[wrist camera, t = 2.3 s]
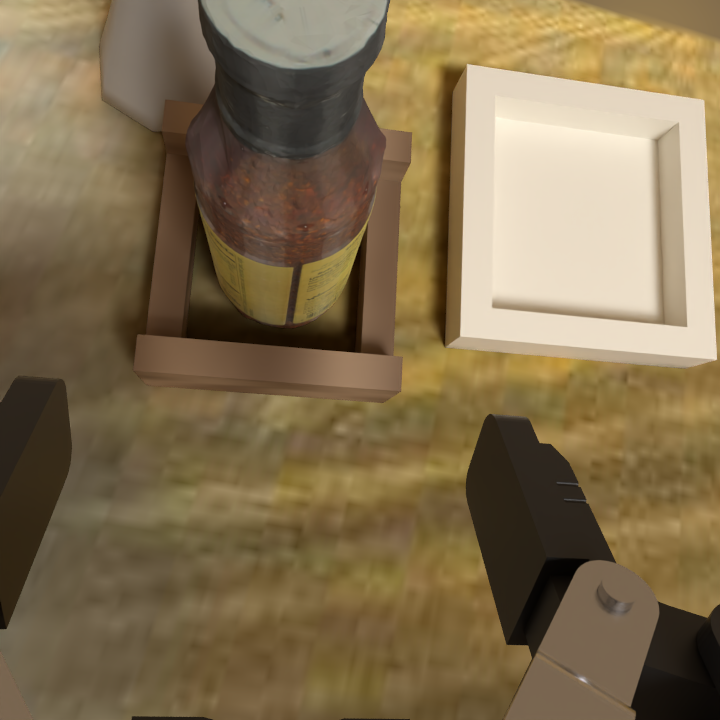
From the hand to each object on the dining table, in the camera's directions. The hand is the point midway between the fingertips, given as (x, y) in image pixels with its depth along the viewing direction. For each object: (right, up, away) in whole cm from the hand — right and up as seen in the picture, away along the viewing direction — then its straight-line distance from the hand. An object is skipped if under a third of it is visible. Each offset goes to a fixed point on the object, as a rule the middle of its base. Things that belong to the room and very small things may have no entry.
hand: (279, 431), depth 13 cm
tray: (+13, +8, +23) cm, 27 cm away
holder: (-2, +6, +20) cm, 21 cm away
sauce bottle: (-2, +6, +20) cm, 21 cm away
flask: (-8, +16, +21) cm, 28 cm away
